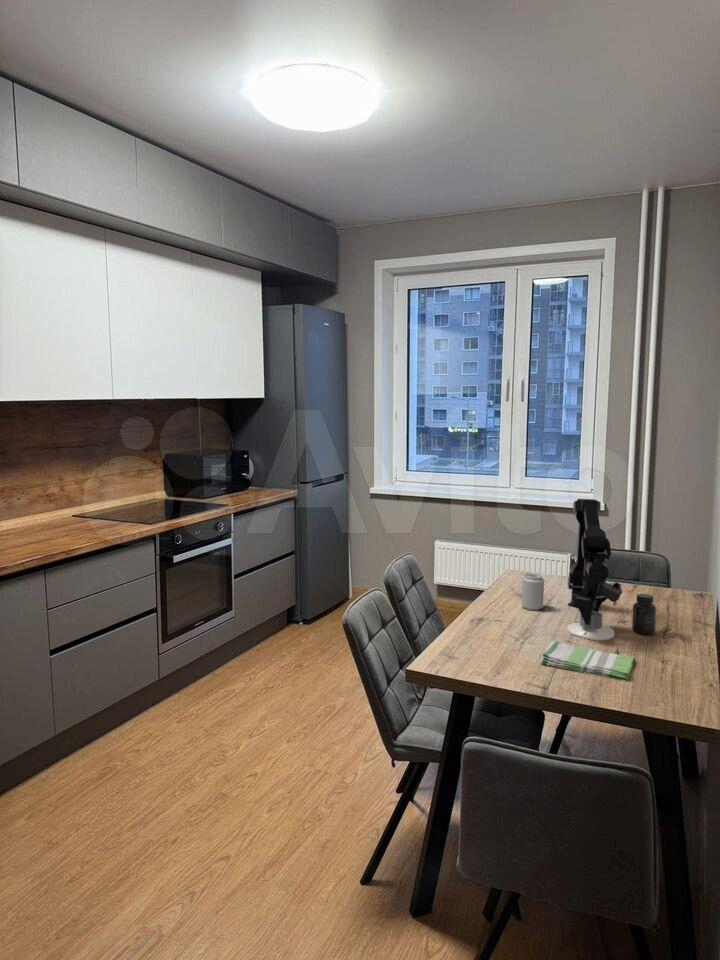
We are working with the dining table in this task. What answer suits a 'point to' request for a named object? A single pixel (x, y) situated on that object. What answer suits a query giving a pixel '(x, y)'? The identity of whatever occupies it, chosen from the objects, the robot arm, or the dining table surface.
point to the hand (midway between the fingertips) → (590, 622)
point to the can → (532, 591)
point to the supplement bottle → (644, 615)
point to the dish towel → (588, 661)
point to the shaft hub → (590, 632)
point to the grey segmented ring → (593, 621)
